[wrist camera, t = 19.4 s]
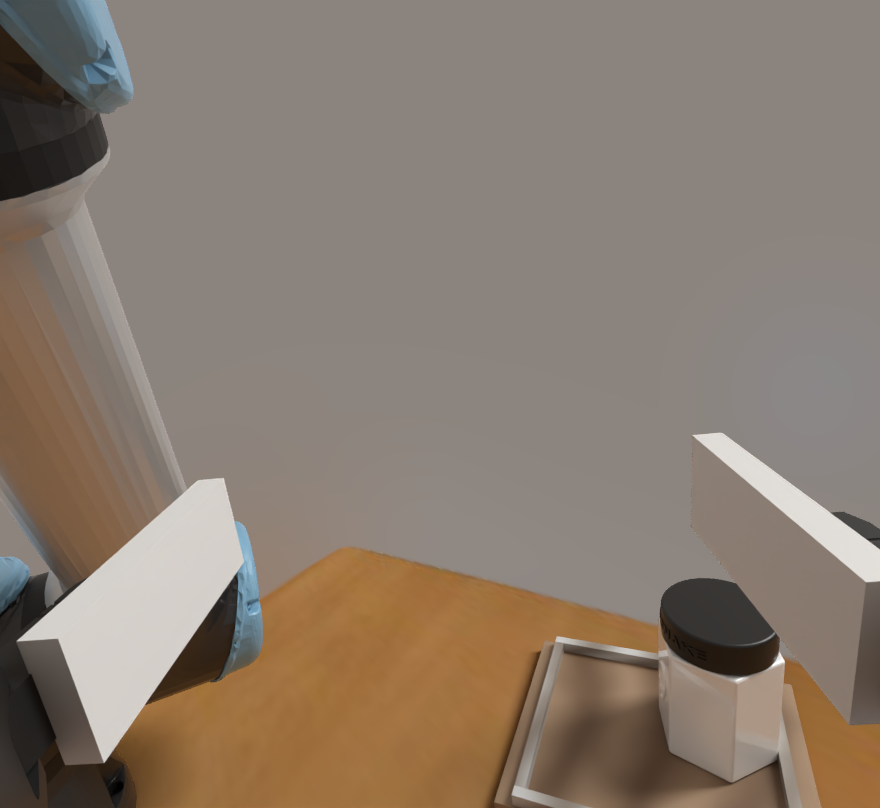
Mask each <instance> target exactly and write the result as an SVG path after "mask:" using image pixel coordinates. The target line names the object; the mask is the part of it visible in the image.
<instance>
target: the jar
mask: <svg viewBox="0 0 880 808" xmlns="http://www.w3.org/2000/svg"><path fill="white" fill-rule="evenodd" d="M779 642H780V638H779V636H778V635H777V634H776V633H775V631H774V630H773V629H772V628H771V626H770V625H769V624H768V623H767V621H766V620H765V619H764V617H763V616H762V615H761V614H760V612H759V611H758V610H757V609H756V607H755V606H754V605H753V604H752V602H751V601H750V600H749V599H748V597H747V596H746V595H745V594H744V592H743V591H742V590H741V589H740V587H739V586H738V585H737V584H736V583H732V582H728V581H724V580H719V579H709V578H697V579H689V580H684V581H681V582H678V583H676V584H674V585H673V586H671V587H670V588H668V589H667V590H666V591H665V593H664V594H663V596H662V599H661V607H660V618H659V619H658V648H659V709H660V713H661V718H662V722H663V726H664V731H665V735H666V739H667V743H668V748H669V751H670V752H671V753H672V754H674V755H676V756H678V757H680V758H682V759H684V760H686V761H688V762H690V763H692V764H694V765H696V766H698V767H700V768H702V769H704V770H706V771H708V772H710V773H712V774H714V775H716V776H718V777H720V778H722V779H724V780H726V781H728V782H731V783H733V782H735V781H737V780H739V779H741V778H743V777H745V776H747V775H749V774H751V773H753V772H755V771H757V770H759V769H761V768H763V767H765V766H767V765H769V764H771V763H773V762H775V761H777V759H778V748H779V735H780V721H781V707H782V694H783V680H784V667H785V661H784V659H783V657H782V656H781V654H780V652H779Z"/></svg>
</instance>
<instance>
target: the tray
mask: <svg viewBox="0 0 880 808" xmlns="http://www.w3.org/2000/svg"><path fill="white" fill-rule="evenodd" d="M494 806H495V808H821V805H820V801H819V797H818V793H817V788H816V784H815V780H814V776H813V772H812V768H811V764H810V760H809V756H808V752H807V747H806V743H805V739H804V735H803V731H802V727H801V723H800V719H799V715H798V711H797V707H796V702H795V698H794V694H793V690H792V686H791V685H789V684H784V683H783V694H782V707H781V721H780V735H779V748H778V759H777V761H775V762H773V763H771V764H769V765H767V766H765V767H763V768H761V769H759V770H757V771H755V772H753V773H751V774H749V775H747V776H745V777H743V778H741V779H739V780H737V781H735V782H733V783H731V782H728V781H726V780H724V779H722V778H720V777H718V776H716V775H714V774H712V773H710V772H708V771H706V770H704V769H702V768H700V767H698V766H696V765H694V764H692V763H690V762H688V761H686V760H684V759H682V758H680V757H678V756H676V755H674V754H672V753H671V752H670V751H669V748H668V743H667V739H666V735H665V731H664V726H663V722H662V718H661V713H660V709H659V654H656V653H650V652H644V651H639V650H633V649H627V648H621V647H616V646H610V645H604V644H598V643H593V642H587V641H581V640H576V639H570V638H564V637H558V636H557V638H556V642H549V641H544V644H543V647H542V651H541V654H540V657H539V660H538V663H537V666H536V670H535V673H534V676H533V679H532V682H531V686H530V689H529V692H528V695H527V698H526V702H525V705H524V708H523V711H522V714H521V717H520V721H519V724H518V727H517V730H516V733H515V737H514V740H513V743H512V746H511V749H510V753H509V756H508V759H507V762H506V765H505V769H504V772H503V775H502V778H501V781H500V784H499V788H498V791H497V794H496V797H495V800H494Z"/></svg>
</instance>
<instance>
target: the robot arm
mask: <svg viewBox="0 0 880 808" xmlns="http://www.w3.org/2000/svg"><path fill="white" fill-rule="evenodd" d="M132 97H133V84H132V81H131V78H130V73H129V68H128V65H127V62H126V59H125V55H124V52H123V49H122V46H121V43H120V41H119V38H118V36H117V34H116V31H115V27H114V24H113V21H112V19H111V16H110V14H109V10H108V7H107V5H106V2H105V0H0V501H1V502H2V503H3V505H4V506H5V507H6V508H7V510H8V512H10V514H11V516H12V517H13V518H14V520H15V521H16V522H17V523H18V525H19V526H20V528H21V529H22V530H23V532H24V533H25V535H26V536H27V537H28V539H29V540H30V542H31V543H32V544H33V546H34V547H35V548H36V550H37V551H38V552H39V554H40V555H41V556H42V558H43V559H44V560H45V562H46V563H47V565H48V566H49V567H50V571H49V572H47V573H44V574H40V575H36V576H30V569H29V567H28V566H27V565H25V564H24V563H23V562H22V561H21V560H20V559H17V558H16V557H5V558H2V557H0V808H136V790H135V786H134V783H133V780H132V777H131V774H130V772H129V769H128V767H127V764H126V763H125V761H124V760H123V758H122V757H121V756H120V755H119V754H118V753H117V752H116V751H115V750H114V748H115V747H116V745H117V744H118V743H119V741H120V740H121V738H122V737H123V735H124V734H125V732H126V731H127V730H128V728H129V727H130V725H131V724H132V722H133V721H134V720H135V718H136V717H137V715H138V714H139V712H140V711H141V709H142V708H143V707H144V705H147V704H150V703H152V702H155V701H158V700H161V699H163V698H166V697H169V696H171V695H174V694H177V693H180V692H182V691H185V690H188V689H190V688H193V687H196V686H199V685H201V684H204V683H207V682H217V681H220V680H222V679H223V678H224V677H225V676H226V675H227V674H229V673H232V672H234V671H237V670H239V669H241V668H244V667H246V666H248V665H250V664H251V663H252V662H254V661H255V660H256V658H257V657H258V656H259V654H260V652H261V649H262V644H263V623H262V613H261V606H260V603H259V587H258V581H257V575H256V569H255V563H254V558H253V553H252V548H251V544H250V540H249V536H248V533H247V530H246V529H245V527H244V525H243V524H241V523H239V522H236V521H234V518H233V514H232V510H231V506H230V502H229V498H228V494H227V490H226V486H225V482H224V478H218V479H208V480H198V481H197V482H196V483H194V484H193V485H192V486H191V487H190V488H189V489H188V490H187V488H186V486H185V483H184V480H183V477H182V474H181V471H180V469H179V466H178V463H177V460H176V457H175V455H174V452H173V449H172V446H171V443H170V440H169V438H168V435H167V432H166V429H165V426H164V423H163V421H162V418H161V415H160V412H159V410H158V407H157V404H156V401H155V398H154V395H153V392H152V390H151V387H150V384H149V381H148V379H147V376H146V373H145V370H144V367H143V364H142V362H141V359H140V356H139V353H138V350H137V347H136V344H135V342H134V339H133V336H132V334H131V331H130V328H129V325H128V322H127V319H126V316H125V314H124V311H123V308H122V305H121V302H120V300H119V297H118V294H117V291H116V288H115V285H114V282H113V280H112V277H111V274H110V272H109V268H108V266H107V263H106V260H105V257H104V254H103V251H102V249H101V246H100V243H99V240H98V237H97V234H96V232H95V229H94V226H93V223H92V220H91V218H90V215H89V212H88V209H87V206H86V204H85V193H86V191H87V190H88V188H89V187H90V186H91V184H92V183H93V182H94V180H95V179H96V178H97V176H98V175H99V174H100V172H101V171H102V170H103V168H104V167H105V166H106V164H107V163H108V161H109V158H110V148H109V144H108V141H107V137H106V134H105V131H104V128H103V125H102V121H101V118H100V114H99V113H105V114H109V113H112V112H114V111H115V110H116V109H117V107H121V106H124V105H126V104H128V103H129V102H130V101H131V100H132ZM691 527H692V528H693V530H694V531H695V532H696V533H697V535H698V536H699V537H700V538H701V540H702V541H703V542H704V543H705V545H706V546H707V547H708V548H709V550H710V551H711V552H712V554H713V555H714V556H715V557H716V559H717V560H718V561H719V562H720V564H721V565H722V566H723V567H724V569H725V570H726V571H727V572H728V573H729V575H730V576H731V577H732V579H733V580H734V581H735V582H736V584H737V585H738V586H739V587H740V589H741V590H742V591H743V592H744V594H745V595H746V596H747V597H748V599H749V600H750V601H751V602H752V604H753V605H754V606H755V607H756V609H757V610H758V611H759V612H760V614H761V615H762V616H763V617H764V619H765V620H766V621H767V623H768V624H769V625H770V626H771V628H772V629H773V630H774V631H775V633H776V634H777V635H778V636H779V638H780V639H781V640H782V641H783V643H784V644H785V645H786V646H787V648H788V649H789V650H790V651H791V653H792V654H793V655H794V656H795V658H796V659H797V660H798V661H799V663H800V664H801V665H802V666H803V668H804V669H805V670H806V671H807V673H808V674H809V675H810V676H811V678H812V679H813V680H814V681H815V683H816V684H817V685H818V686H819V688H820V689H821V690H822V692H823V693H824V694H825V695H826V697H827V698H828V699H829V700H830V702H831V703H832V704H833V705H834V707H835V708H836V709H837V710H838V712H839V713H840V714H841V715H842V717H843V718H844V719H845V720H846V722H847V723H848V724H849V725H862V724H880V529H879V528H877V527H875V526H874V525H873V524H871V523H869V522H867V521H864V520H862V519H859V518H857V517H855V516H852V515H850V514H847V513H845V512H834V513H830V512H828V511H827V510H826V509H824V508H823V507H822V506H820V505H819V504H817V503H816V502H815V501H813V500H812V499H811V498H809V497H808V496H807V495H805V494H804V493H803V492H801V491H800V490H799V489H797V488H796V487H794V486H793V485H792V484H790V483H789V482H787V481H786V480H785V479H784V478H782V477H781V476H780V475H778V474H777V473H776V472H774V471H773V470H771V469H770V468H769V467H767V466H766V465H765V464H763V463H762V462H761V461H759V460H758V459H757V458H755V457H754V456H752V455H751V454H750V453H749V452H747V451H746V450H744V449H743V448H742V447H740V446H739V445H738V444H736V443H735V442H734V441H732V440H731V439H730V438H728V437H727V436H725V435H724V434H723V433H711V434H701V435H693V436H692V488H691Z"/></svg>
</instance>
